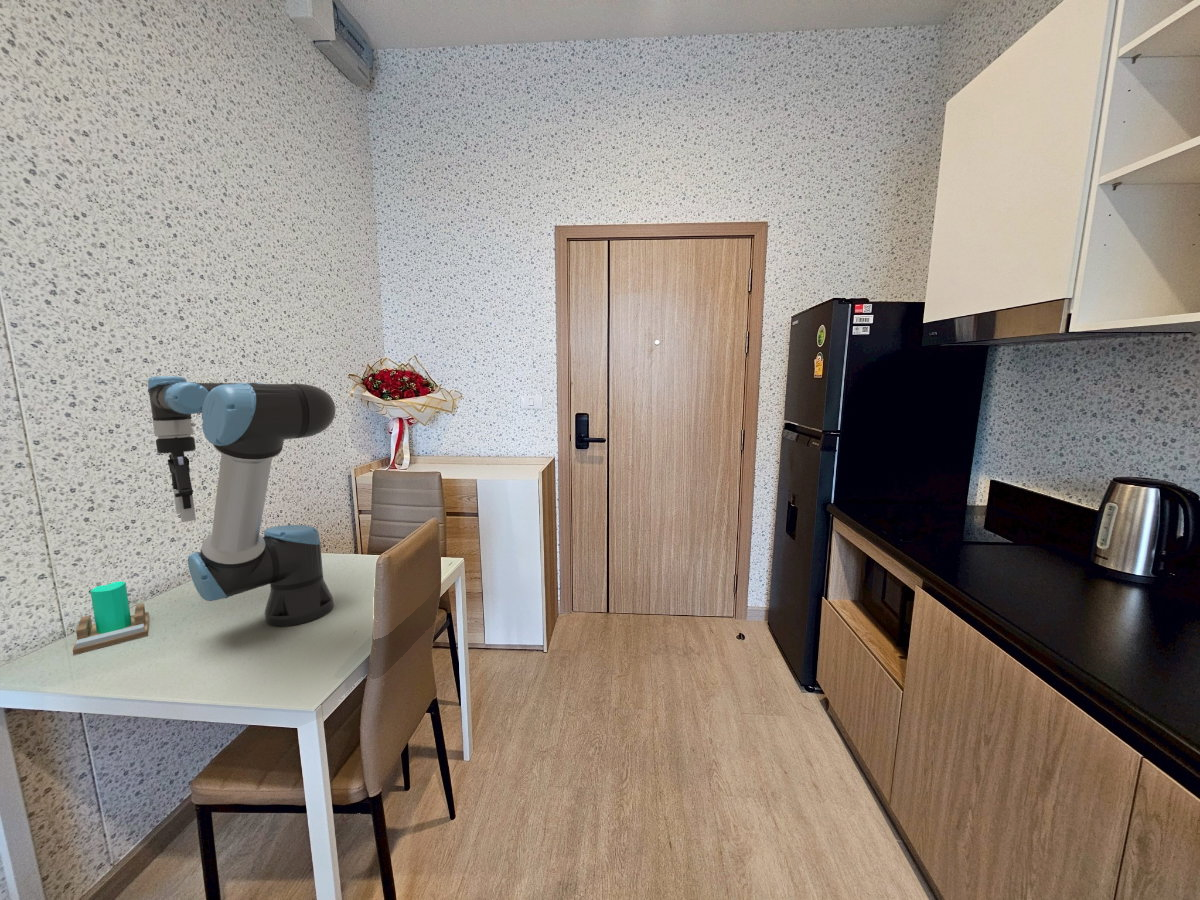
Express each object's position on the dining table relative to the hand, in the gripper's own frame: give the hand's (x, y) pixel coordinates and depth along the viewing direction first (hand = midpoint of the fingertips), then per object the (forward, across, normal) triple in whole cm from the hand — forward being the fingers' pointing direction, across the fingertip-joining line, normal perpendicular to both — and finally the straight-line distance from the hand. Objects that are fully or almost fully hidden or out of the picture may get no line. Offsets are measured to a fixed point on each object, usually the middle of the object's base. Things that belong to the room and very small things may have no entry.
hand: (185, 516), depth 125 cm
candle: (+24, -2, +16) cm, 29 cm away
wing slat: (+24, -8, +16) cm, 30 cm away
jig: (+25, -3, +16) cm, 30 cm away
